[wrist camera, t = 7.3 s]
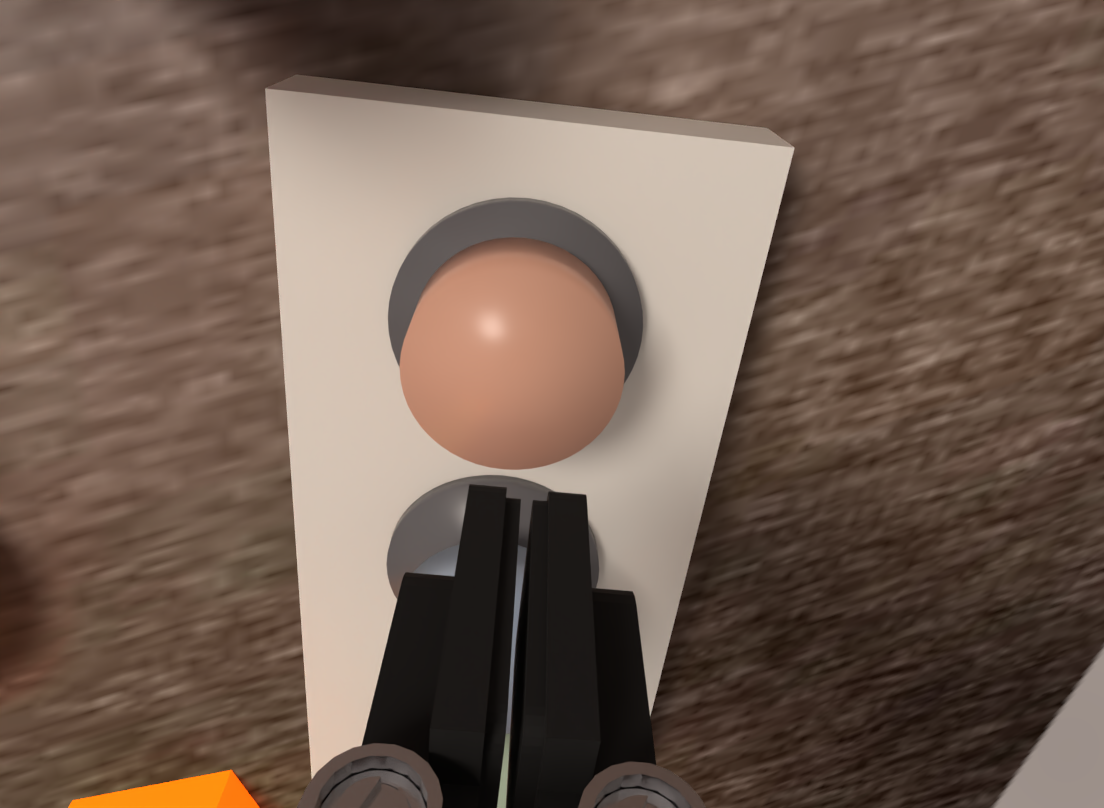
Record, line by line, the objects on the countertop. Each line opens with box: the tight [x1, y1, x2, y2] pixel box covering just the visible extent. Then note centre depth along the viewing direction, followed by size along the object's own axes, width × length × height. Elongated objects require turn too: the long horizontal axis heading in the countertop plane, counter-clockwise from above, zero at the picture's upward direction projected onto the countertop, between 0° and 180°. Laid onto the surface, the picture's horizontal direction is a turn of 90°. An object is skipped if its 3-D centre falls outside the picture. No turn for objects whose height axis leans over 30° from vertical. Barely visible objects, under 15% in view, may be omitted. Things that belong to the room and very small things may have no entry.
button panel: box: [265, 74, 794, 779], centre depth 25 cm, size 12×26×3 cm, turn 174°
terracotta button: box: [400, 237, 625, 470], centre depth 18 cm, size 5×5×2 cm
